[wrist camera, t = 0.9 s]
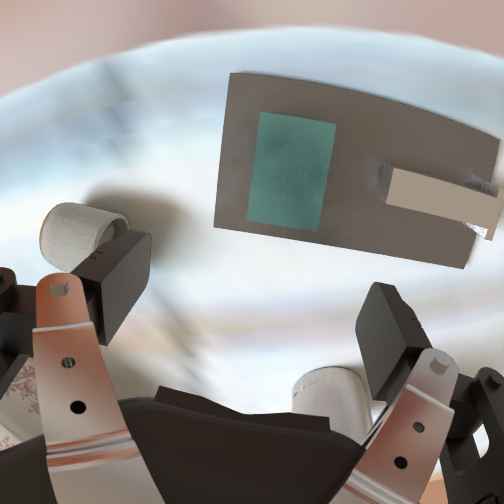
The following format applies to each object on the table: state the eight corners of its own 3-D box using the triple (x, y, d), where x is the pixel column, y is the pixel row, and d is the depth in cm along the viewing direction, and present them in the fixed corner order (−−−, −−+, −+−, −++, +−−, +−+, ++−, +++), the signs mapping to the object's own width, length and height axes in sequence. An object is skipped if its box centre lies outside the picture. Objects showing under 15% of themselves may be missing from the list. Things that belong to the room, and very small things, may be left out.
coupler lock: (326, 122, 25) (336, 124, 19) (310, 214, 28) (315, 239, 23) (266, 112, 25) (260, 111, 20) (254, 205, 28) (245, 228, 23)
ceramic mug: (72, 191, 31) (29, 213, 24) (133, 204, 31) (94, 232, 24) (75, 271, 35) (40, 302, 29) (129, 288, 35) (99, 326, 29)
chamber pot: (-24, 331, 46) (-81, 391, 27) (43, 316, 39) (-40, 409, 21) (48, 426, 55) (11, 488, 37) (133, 437, 49) (96, 526, 30)
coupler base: (493, 138, 23) (516, 143, 20) (459, 265, 29) (476, 283, 26) (232, 74, 25) (223, 67, 21) (215, 223, 31) (205, 239, 27)
